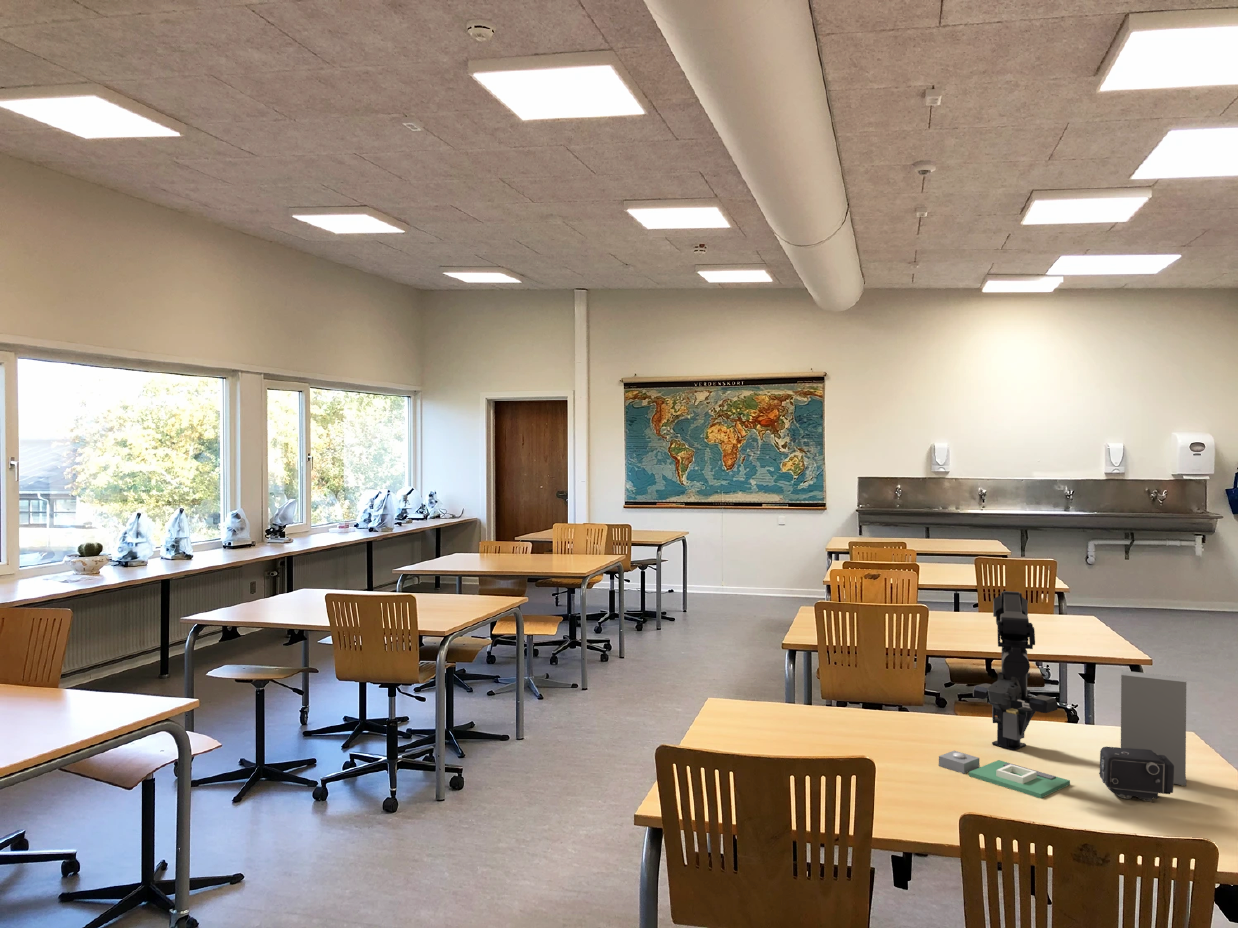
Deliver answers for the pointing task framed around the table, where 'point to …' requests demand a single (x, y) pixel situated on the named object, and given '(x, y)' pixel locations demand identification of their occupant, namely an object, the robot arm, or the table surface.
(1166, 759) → the camera
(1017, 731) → the plug
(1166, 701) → the upright grey panel
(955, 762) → the grey push button
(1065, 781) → the board
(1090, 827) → the table surface
